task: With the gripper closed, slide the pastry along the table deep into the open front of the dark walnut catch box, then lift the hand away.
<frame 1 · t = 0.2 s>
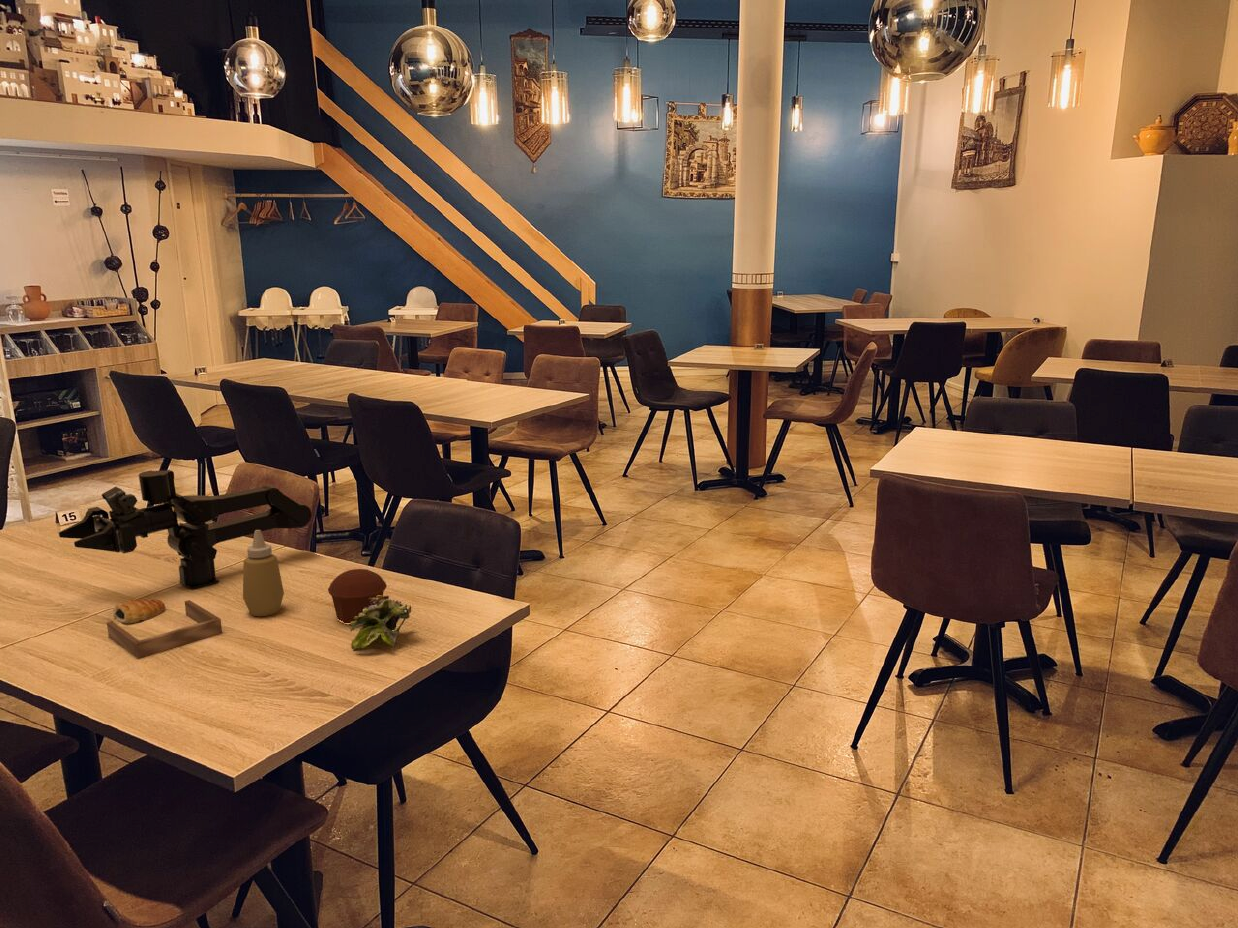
hand: (66, 539, 184), 16 cm above the table, tool horizontal, fingers open, 9 cm apart
squeeze bottle: (265, 612, 190), on the table
muffin: (359, 618, 188), on the table
pastry: (138, 618, 187), on the table
catch box: (164, 633, 179), on the table
passion flower: (384, 645, 175), on the table
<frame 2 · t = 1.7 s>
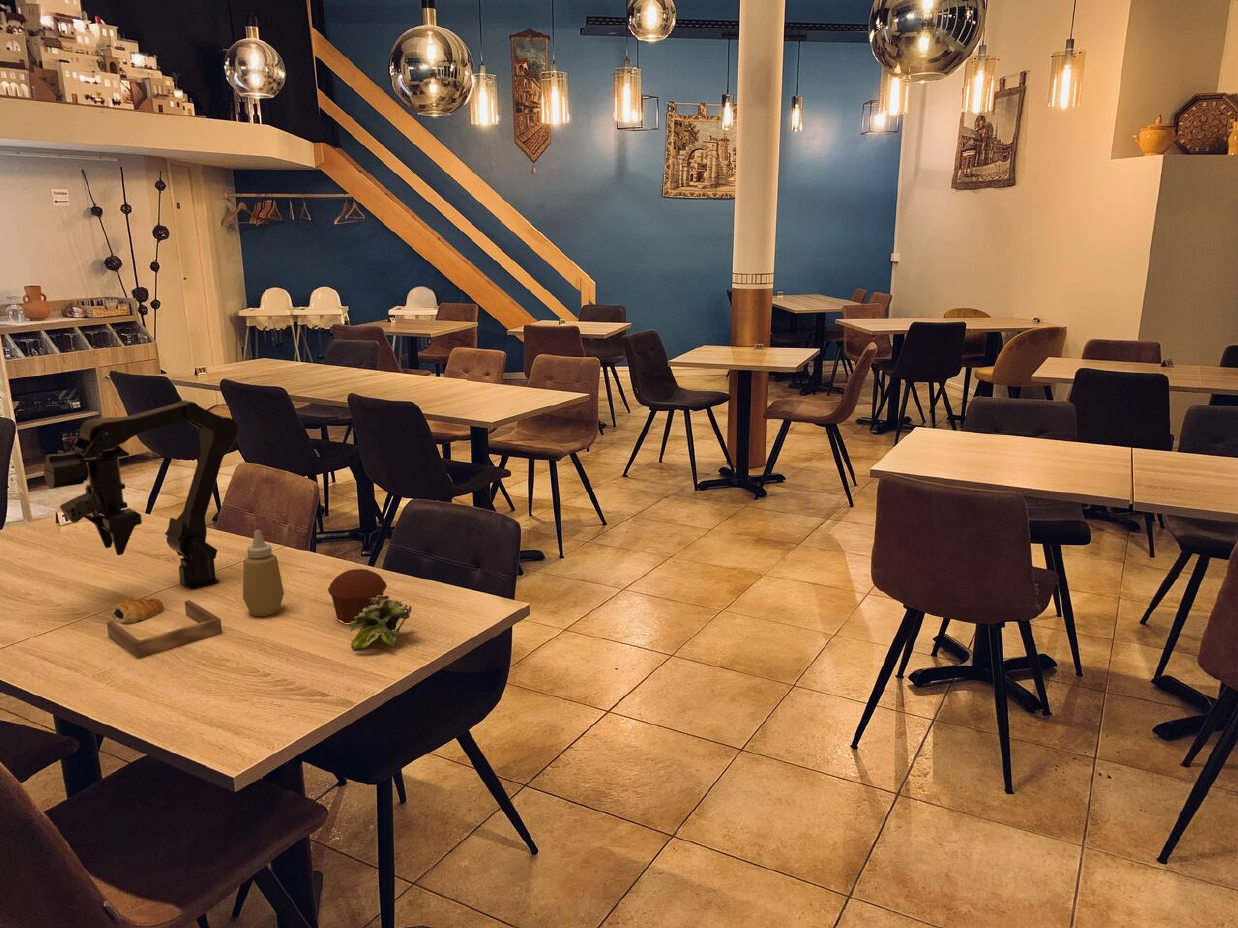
hand: (114, 551, 191), 12 cm above the table, tool pointing down, fingers open, 6 cm apart
nothing on the table moved.
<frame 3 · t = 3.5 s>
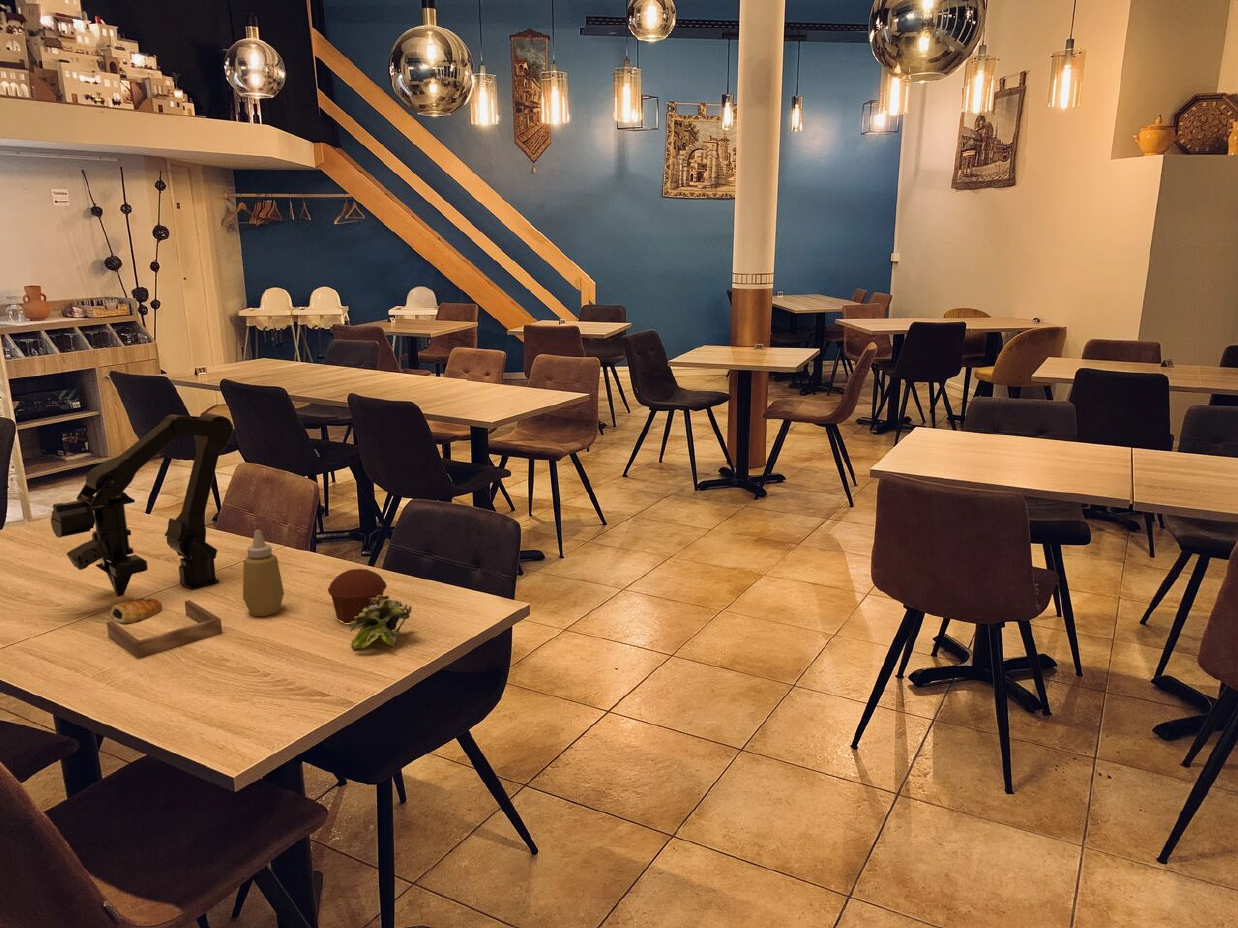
hand: (120, 595, 193), 2 cm above the table, tool pointing down, fingers closed
nothing on the table moved.
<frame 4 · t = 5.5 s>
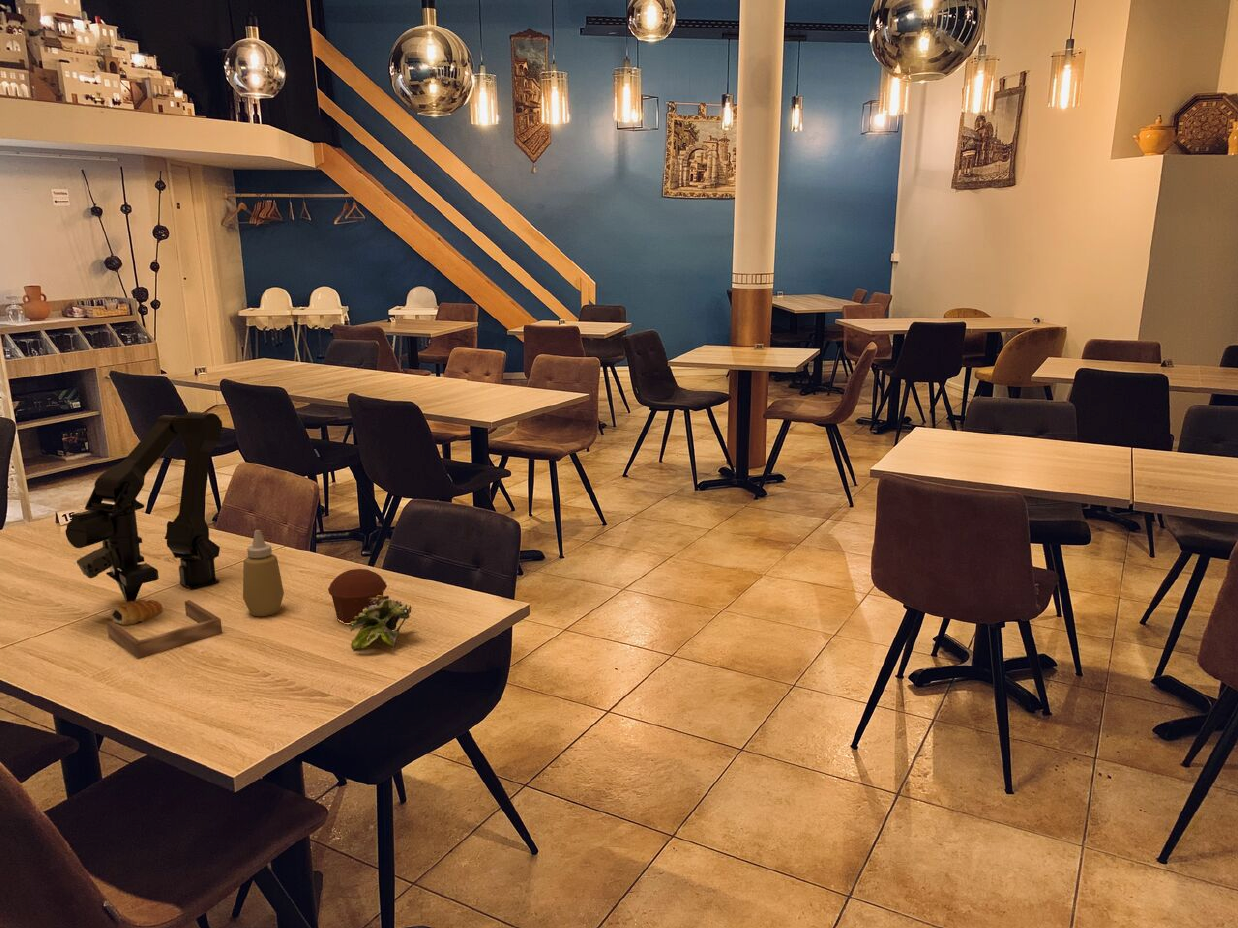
hand: (130, 604, 189), 2 cm above the table, tool pointing down, fingers closed
pastry: (135, 619, 187), on the table, touching gripper
everything else where it was.
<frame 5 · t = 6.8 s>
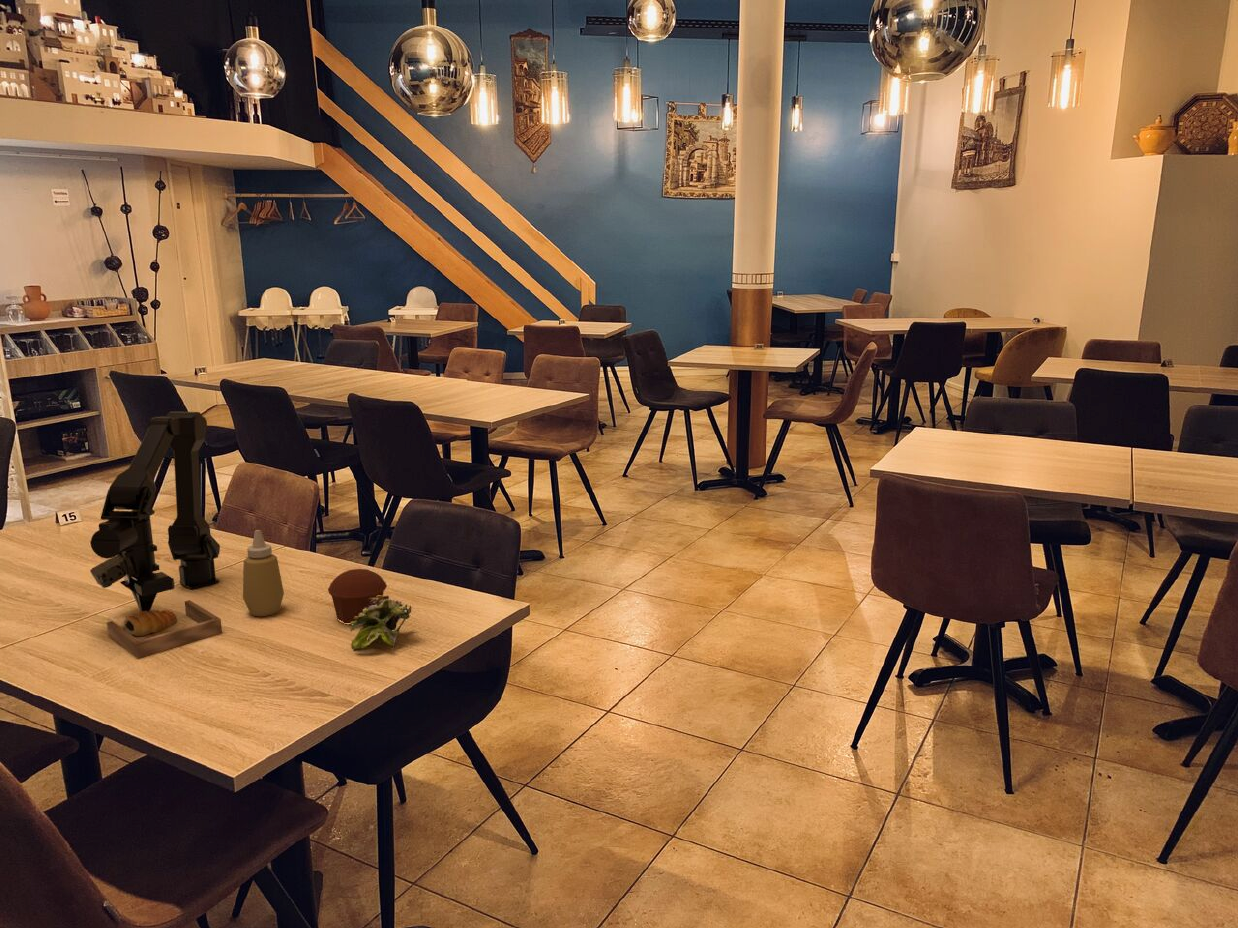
hand: (145, 614, 184), 2 cm above the table, tool pointing down, fingers closed
pastry: (148, 630, 182), on the table, touching gripper
everything else where it was.
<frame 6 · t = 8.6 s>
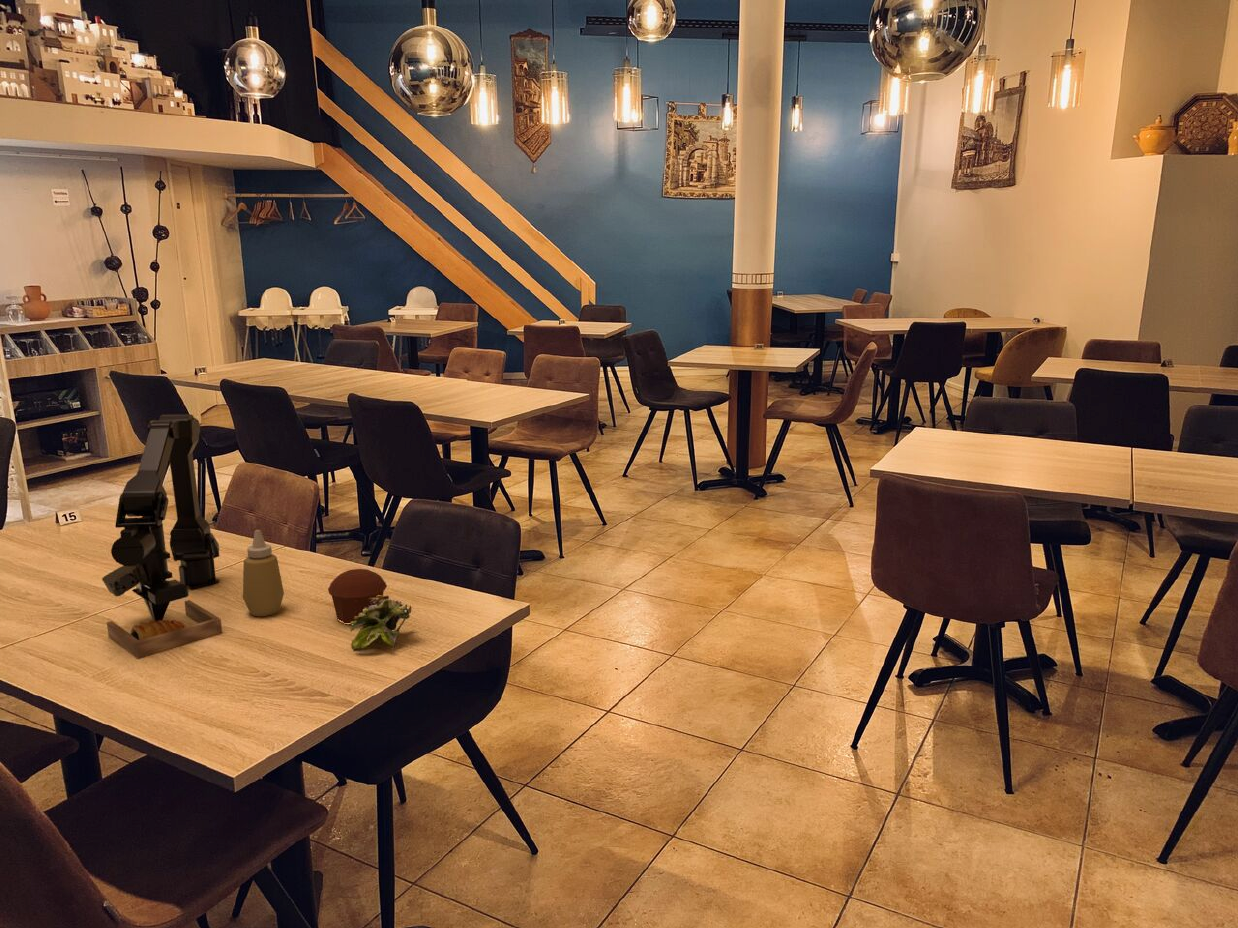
hand: (158, 622, 180), 2 cm above the table, tool pointing down, fingers closed
pastry: (155, 640, 177), on the table
everything else where it was.
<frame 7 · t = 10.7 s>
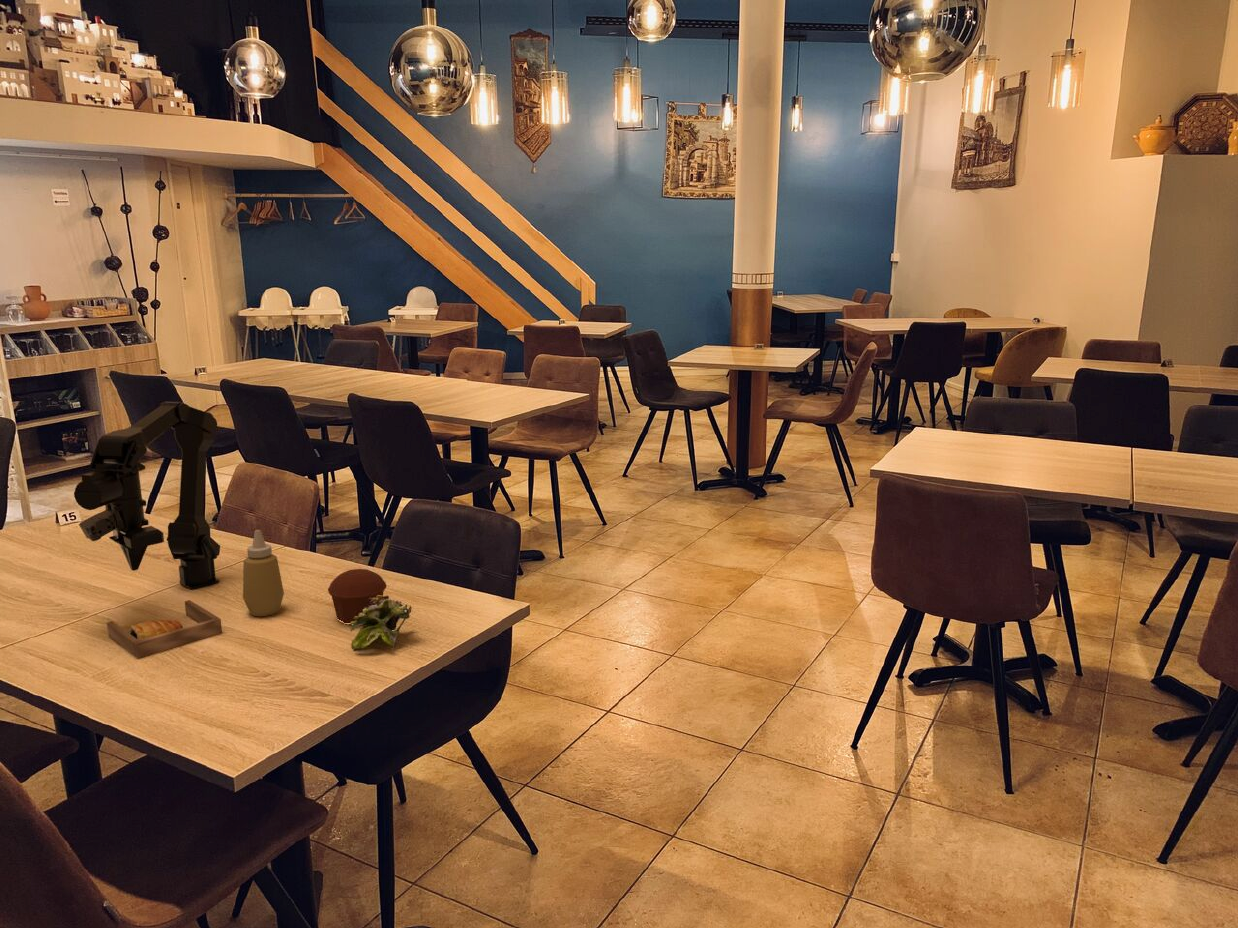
hand: (134, 569, 184), 11 cm above the table, tool pointing down, fingers closed
nothing on the table moved.
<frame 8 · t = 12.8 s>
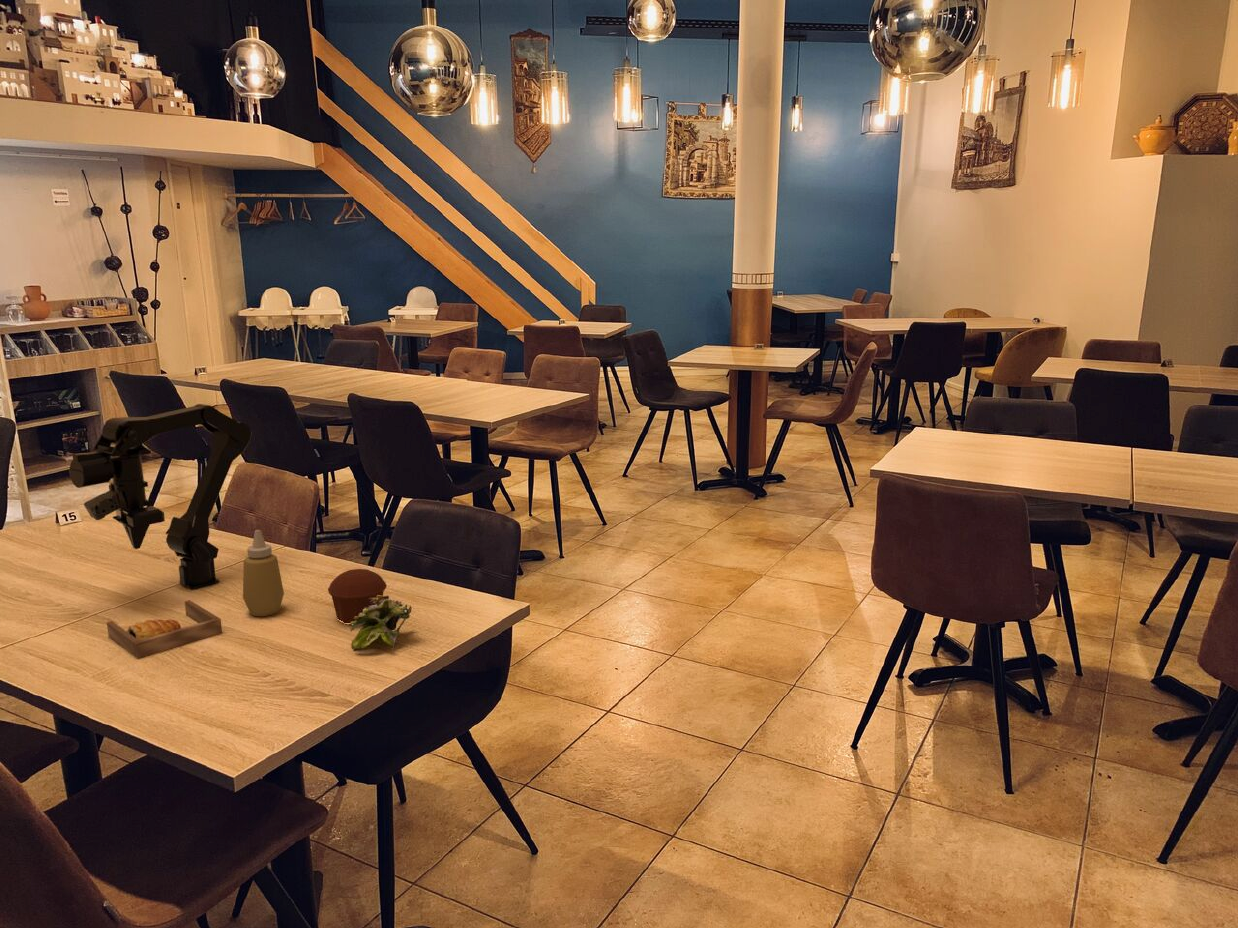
hand: (136, 548, 193), 12 cm above the table, tool pointing down, fingers closed
nothing on the table moved.
at the end: pastry inside the target area on the catch box (3.2 cm from its centre), point -0.5 cm above the catch box's base; pastry tilted 0°; the gripper is holding nothing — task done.
